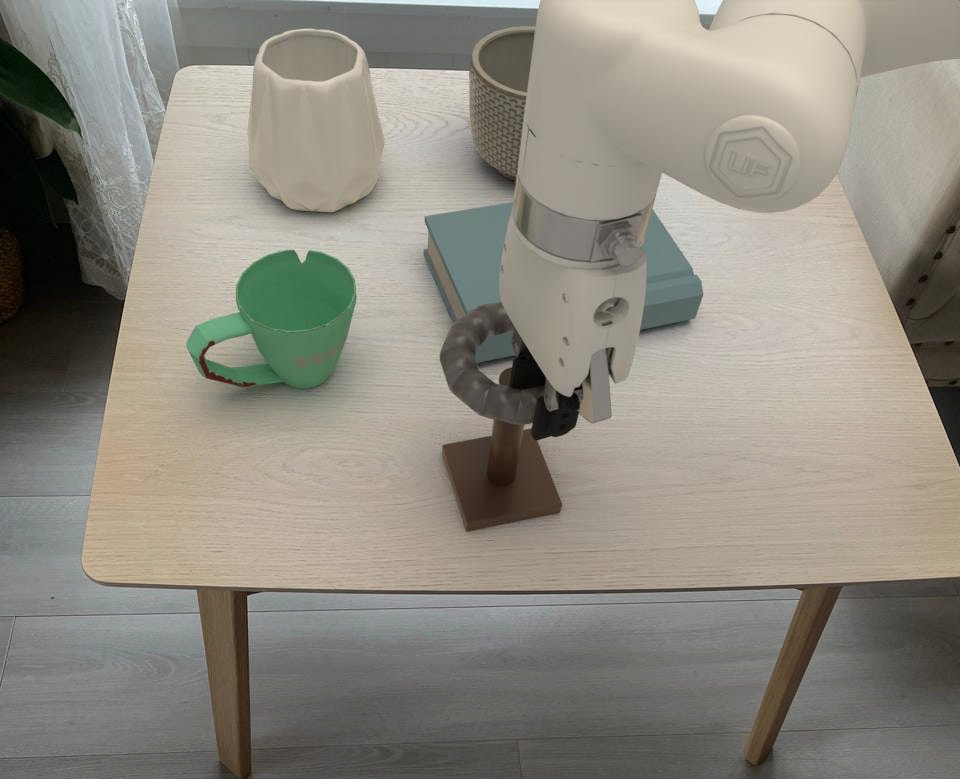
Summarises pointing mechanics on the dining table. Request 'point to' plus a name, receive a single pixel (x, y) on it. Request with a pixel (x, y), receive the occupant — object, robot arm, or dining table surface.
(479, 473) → the post
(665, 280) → the book
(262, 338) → the mug
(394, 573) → the dining table surface
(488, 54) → the planter
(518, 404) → the segmented grey ring
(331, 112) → the vase
